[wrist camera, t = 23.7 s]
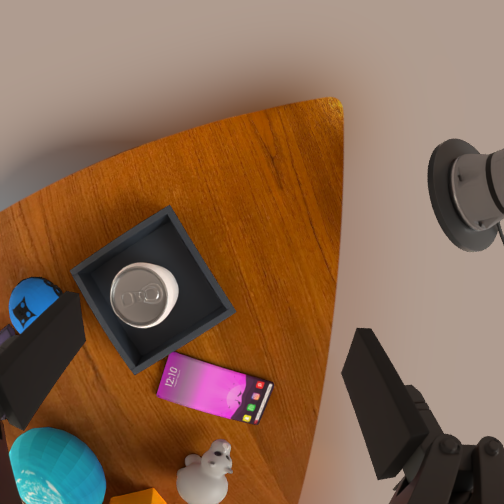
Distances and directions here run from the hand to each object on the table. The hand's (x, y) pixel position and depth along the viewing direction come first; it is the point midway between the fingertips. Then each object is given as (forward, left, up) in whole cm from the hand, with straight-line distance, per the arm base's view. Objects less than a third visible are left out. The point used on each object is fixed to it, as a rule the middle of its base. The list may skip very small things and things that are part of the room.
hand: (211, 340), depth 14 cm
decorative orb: (-10, +33, -28) cm, 44 cm away
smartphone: (-12, +6, -28) cm, 31 cm away
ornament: (+10, +20, -28) cm, 36 cm away
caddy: (+4, +5, -28) cm, 28 cm away
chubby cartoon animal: (-21, +13, -28) cm, 38 cm away
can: (+4, +5, -27) cm, 28 cm away
